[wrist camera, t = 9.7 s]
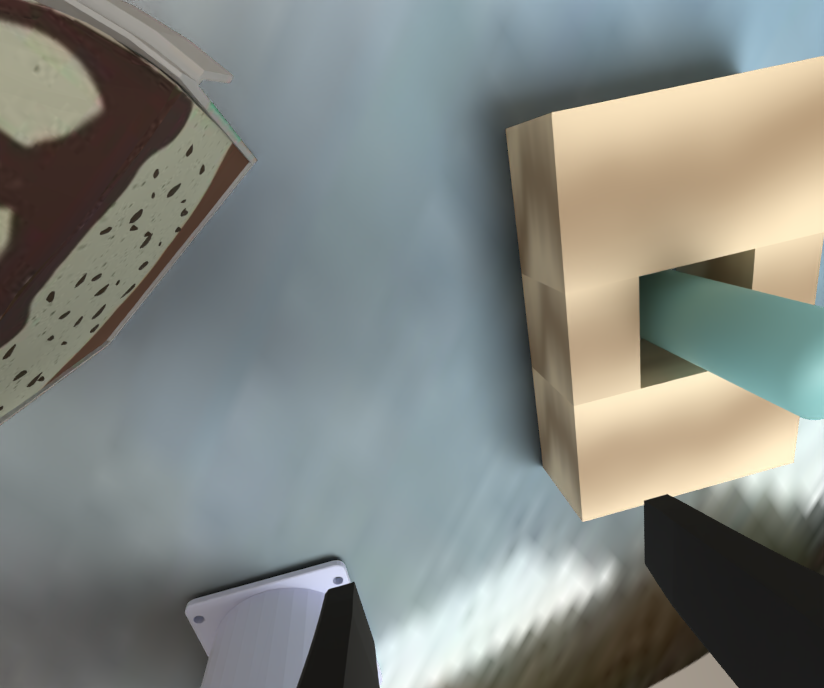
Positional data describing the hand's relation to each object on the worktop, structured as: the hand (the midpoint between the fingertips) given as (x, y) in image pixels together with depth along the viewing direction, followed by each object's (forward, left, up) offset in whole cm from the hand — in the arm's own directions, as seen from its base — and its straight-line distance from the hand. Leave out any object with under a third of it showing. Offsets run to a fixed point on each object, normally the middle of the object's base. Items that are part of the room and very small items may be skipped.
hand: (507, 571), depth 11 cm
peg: (+2, -10, -10) cm, 15 cm away
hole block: (+2, -10, -10) cm, 15 cm away
